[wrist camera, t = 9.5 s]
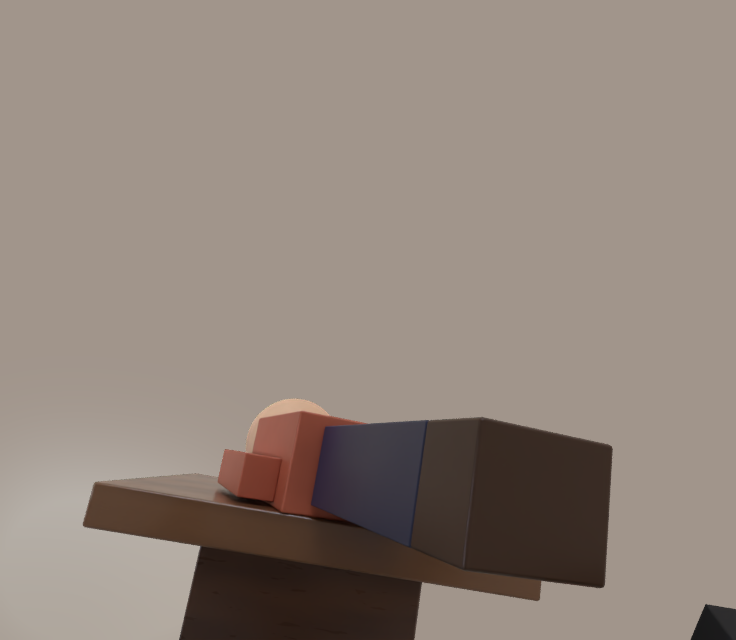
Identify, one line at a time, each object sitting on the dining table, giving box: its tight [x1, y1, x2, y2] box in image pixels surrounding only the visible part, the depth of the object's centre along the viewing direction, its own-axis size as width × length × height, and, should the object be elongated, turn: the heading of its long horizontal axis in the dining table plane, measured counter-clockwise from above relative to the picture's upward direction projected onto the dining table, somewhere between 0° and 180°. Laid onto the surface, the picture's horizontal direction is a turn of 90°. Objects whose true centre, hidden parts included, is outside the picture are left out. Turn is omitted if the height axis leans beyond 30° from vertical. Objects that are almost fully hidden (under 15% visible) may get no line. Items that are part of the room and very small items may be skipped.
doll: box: [218, 399, 613, 588], centre depth 23 cm, size 25×8×5 cm, turn 20°
